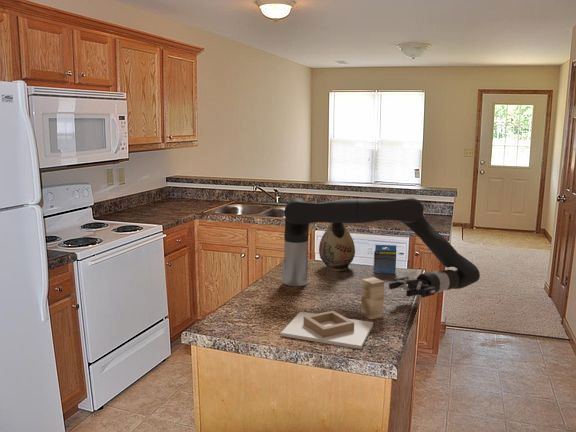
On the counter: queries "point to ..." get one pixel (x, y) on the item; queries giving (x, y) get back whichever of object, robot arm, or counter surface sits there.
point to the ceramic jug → (337, 247)
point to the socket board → (336, 339)
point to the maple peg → (372, 298)
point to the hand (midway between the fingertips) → (398, 289)
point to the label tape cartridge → (385, 259)
